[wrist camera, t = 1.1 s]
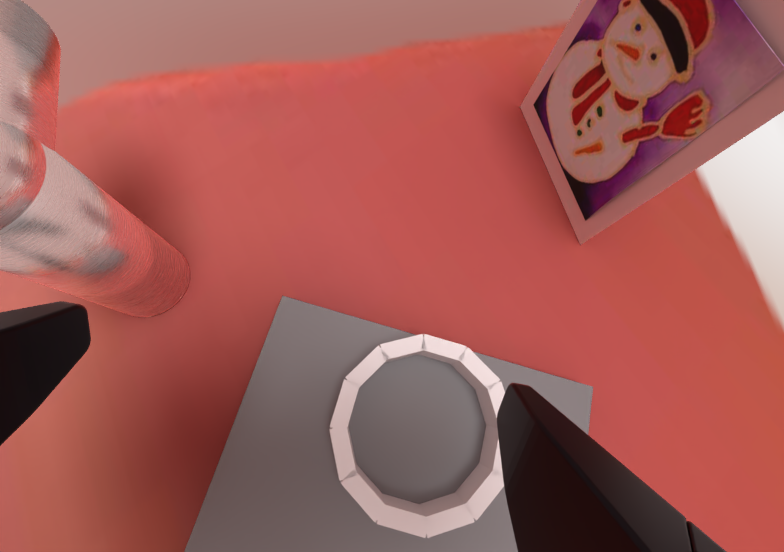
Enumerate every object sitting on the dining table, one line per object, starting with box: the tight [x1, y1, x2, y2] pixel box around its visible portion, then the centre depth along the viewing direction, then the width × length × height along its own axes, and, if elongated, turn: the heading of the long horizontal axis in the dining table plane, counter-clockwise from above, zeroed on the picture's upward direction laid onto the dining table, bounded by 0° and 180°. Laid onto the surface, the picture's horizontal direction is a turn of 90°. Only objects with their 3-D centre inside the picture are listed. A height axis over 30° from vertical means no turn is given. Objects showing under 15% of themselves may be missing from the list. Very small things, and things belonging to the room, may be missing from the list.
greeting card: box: [520, 0, 784, 245], centre depth 20 cm, size 11×7×15 cm, turn 15°
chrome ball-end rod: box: [0, 0, 190, 317], centre depth 16 cm, size 8×4×13 cm, turn 11°
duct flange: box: [184, 296, 593, 552], centre depth 18 cm, size 19×18×4 cm
